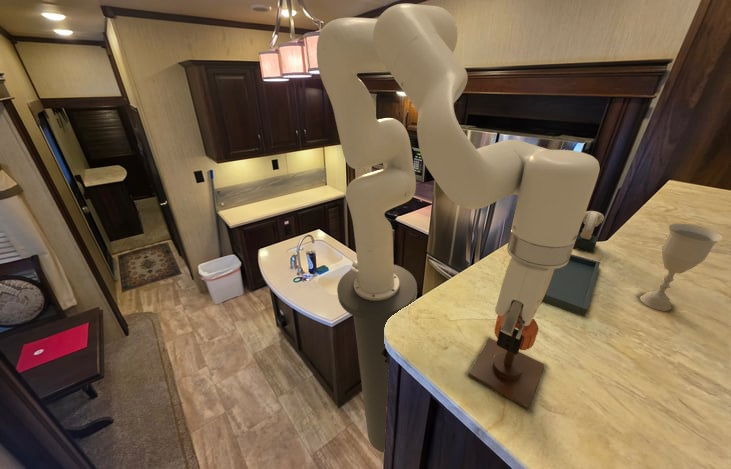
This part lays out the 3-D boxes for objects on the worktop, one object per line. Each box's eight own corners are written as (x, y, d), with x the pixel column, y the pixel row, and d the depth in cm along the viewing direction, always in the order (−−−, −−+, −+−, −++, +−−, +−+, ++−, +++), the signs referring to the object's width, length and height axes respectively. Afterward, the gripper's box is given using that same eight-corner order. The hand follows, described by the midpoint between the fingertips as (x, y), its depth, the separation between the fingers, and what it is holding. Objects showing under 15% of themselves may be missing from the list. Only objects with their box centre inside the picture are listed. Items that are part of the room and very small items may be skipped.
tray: (508, 288, 71) (510, 282, 70) (532, 250, 85) (534, 244, 84) (584, 316, 62) (587, 309, 61) (597, 268, 76) (600, 261, 75)
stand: (467, 374, 52) (471, 350, 49) (488, 339, 59) (493, 316, 55) (527, 409, 46) (537, 385, 43) (543, 366, 53) (552, 341, 49)
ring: (489, 337, 48) (491, 325, 47) (501, 316, 52) (504, 304, 50) (528, 357, 44) (532, 343, 43) (538, 332, 48) (542, 319, 47)
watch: (595, 243, 86) (608, 209, 81) (591, 255, 81) (604, 220, 76) (573, 237, 89) (584, 205, 84) (568, 249, 84) (579, 215, 79)
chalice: (626, 296, 66) (660, 227, 58) (646, 288, 68) (682, 220, 59) (664, 317, 60) (708, 244, 52) (685, 308, 62) (731, 236, 53)
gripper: (527, 214, 47) (507, 298, 56) (487, 265, 36) (470, 359, 45) (582, 227, 43) (551, 315, 52) (556, 288, 32) (522, 387, 40)
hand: (513, 334), depth 48 cm, fingers closed on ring, 6 cm apart
